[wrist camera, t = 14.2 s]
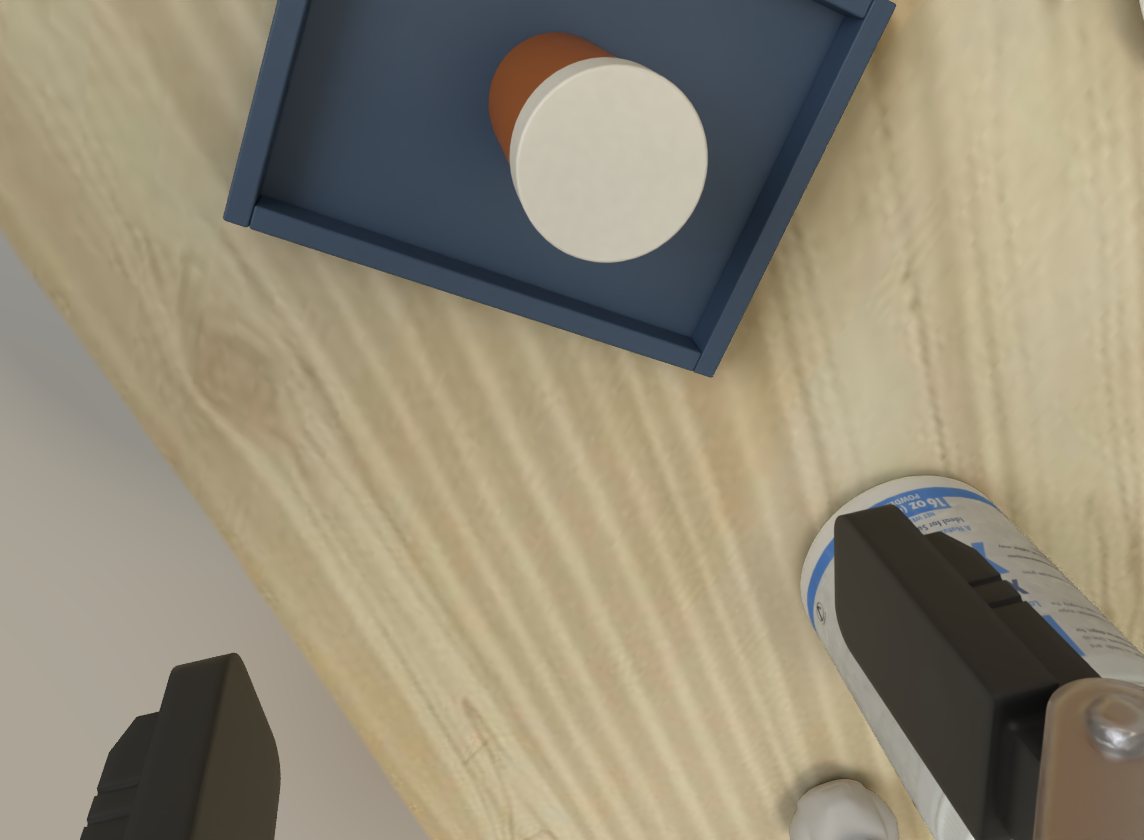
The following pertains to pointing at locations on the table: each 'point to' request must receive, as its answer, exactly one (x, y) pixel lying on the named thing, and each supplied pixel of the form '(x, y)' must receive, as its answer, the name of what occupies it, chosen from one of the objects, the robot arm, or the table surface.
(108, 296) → the table surface
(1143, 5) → the flower in vase
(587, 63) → the pill bottle
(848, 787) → the grey figurine
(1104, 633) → the supplement tub
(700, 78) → the tray
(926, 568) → the robot arm
